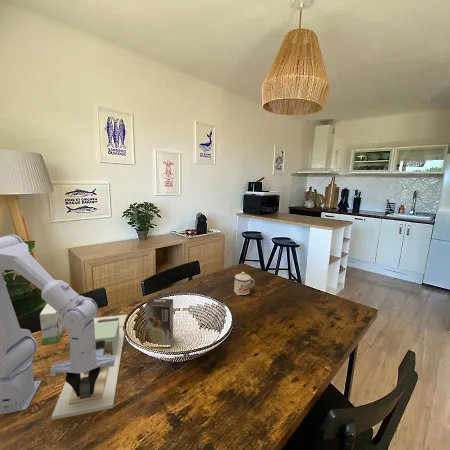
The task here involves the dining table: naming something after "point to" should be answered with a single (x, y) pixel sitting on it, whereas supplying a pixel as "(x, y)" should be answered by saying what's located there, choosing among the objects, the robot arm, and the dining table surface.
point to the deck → (109, 389)
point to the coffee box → (159, 321)
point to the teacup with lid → (242, 284)
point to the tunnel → (108, 333)
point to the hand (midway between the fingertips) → (85, 392)
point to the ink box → (50, 325)
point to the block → (98, 352)
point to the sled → (100, 381)
